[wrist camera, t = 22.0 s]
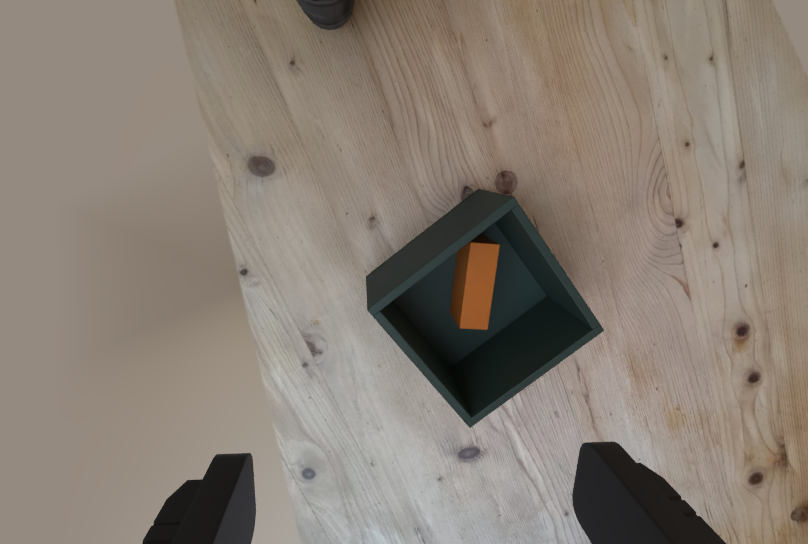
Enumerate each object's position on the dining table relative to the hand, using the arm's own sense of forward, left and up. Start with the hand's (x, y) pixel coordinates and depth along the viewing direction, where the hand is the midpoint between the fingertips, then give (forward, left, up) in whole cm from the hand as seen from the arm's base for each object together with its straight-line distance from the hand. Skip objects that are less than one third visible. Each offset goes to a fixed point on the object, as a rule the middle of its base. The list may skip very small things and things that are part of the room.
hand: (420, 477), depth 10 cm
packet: (+13, +2, -33) cm, 35 cm away
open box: (+11, +4, -36) cm, 38 cm away
